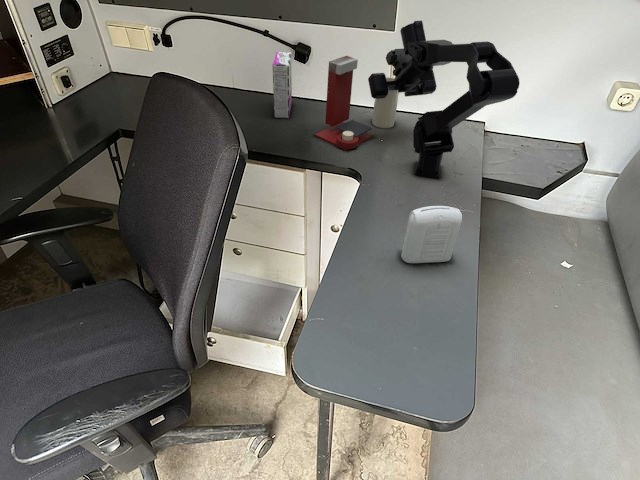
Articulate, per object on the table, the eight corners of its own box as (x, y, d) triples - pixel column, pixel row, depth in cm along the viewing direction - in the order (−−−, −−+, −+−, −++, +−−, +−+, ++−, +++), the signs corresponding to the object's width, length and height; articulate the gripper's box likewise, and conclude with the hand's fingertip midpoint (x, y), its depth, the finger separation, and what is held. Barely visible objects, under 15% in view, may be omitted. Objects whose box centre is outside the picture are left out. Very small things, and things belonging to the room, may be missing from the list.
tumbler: (392, 129, 141) (399, 87, 133) (370, 126, 142) (375, 84, 134) (394, 120, 146) (401, 78, 138) (373, 117, 147) (378, 75, 139)
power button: (355, 139, 131) (355, 133, 130) (348, 142, 129) (348, 136, 128) (346, 135, 132) (347, 129, 131) (339, 138, 131) (340, 133, 129)
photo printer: (446, 249, 99) (459, 200, 91) (453, 262, 96) (468, 213, 88) (398, 251, 97) (408, 202, 90) (404, 265, 94) (414, 215, 86)
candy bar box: (276, 103, 152) (275, 51, 142) (291, 104, 152) (292, 51, 142) (273, 118, 144) (271, 63, 133) (289, 119, 144) (289, 64, 133)
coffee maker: (376, 138, 136) (377, 130, 135) (348, 153, 129) (349, 145, 127) (341, 123, 143) (341, 116, 141) (313, 136, 135) (313, 128, 134)
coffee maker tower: (372, 129, 135) (380, 66, 124) (356, 137, 131) (362, 73, 120) (341, 116, 141) (346, 55, 130) (325, 123, 137) (328, 61, 126)
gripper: (440, 40, 124) (414, 67, 140) (375, 43, 120) (355, 71, 135) (448, 80, 124) (421, 103, 139) (383, 85, 119) (362, 109, 134)
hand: (390, 96), depth 137 cm, fingers open, 9 cm apart
